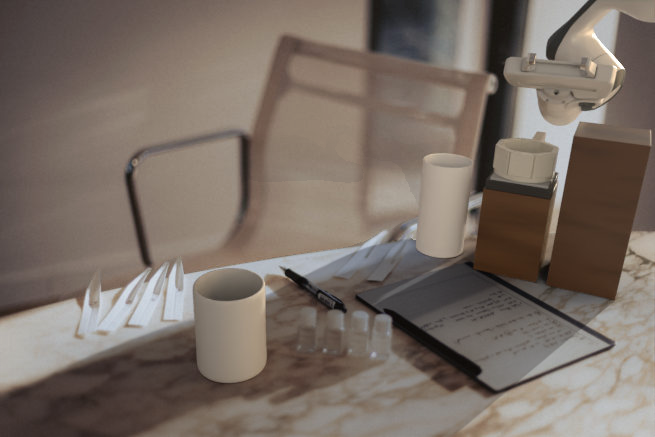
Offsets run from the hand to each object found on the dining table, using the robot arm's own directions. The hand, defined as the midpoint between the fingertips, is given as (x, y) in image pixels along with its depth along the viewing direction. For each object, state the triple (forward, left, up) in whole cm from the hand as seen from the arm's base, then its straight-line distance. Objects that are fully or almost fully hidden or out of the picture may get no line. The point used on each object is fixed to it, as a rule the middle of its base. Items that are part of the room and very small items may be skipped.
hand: (557, 59), depth 113 cm
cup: (+22, +16, -31) cm, 41 cm away
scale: (+11, +22, -16) cm, 30 cm away
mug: (+55, +48, -31) cm, 79 cm away
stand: (+6, +25, -30) cm, 40 cm away
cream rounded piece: (+8, +16, -15) cm, 23 cm away
